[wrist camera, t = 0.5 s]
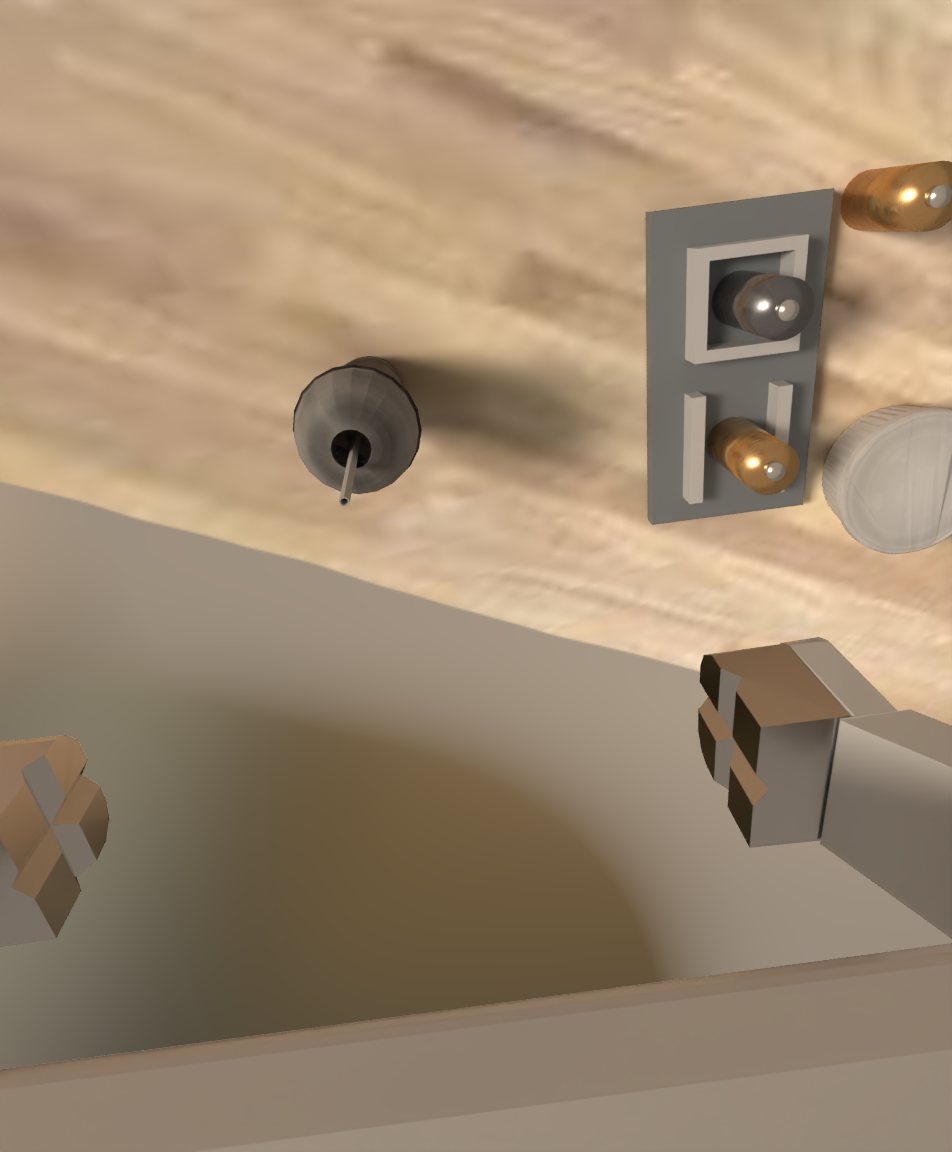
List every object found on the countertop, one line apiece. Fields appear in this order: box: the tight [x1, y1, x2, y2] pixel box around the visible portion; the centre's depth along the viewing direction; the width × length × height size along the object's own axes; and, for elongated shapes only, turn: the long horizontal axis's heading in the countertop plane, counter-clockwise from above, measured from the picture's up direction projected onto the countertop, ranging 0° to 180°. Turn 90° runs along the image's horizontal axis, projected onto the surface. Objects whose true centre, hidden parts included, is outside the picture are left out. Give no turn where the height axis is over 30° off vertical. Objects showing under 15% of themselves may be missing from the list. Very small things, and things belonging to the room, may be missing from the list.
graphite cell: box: [712, 270, 815, 341], centre depth 45 cm, size 4×4×8 cm
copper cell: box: [840, 161, 952, 231], centre depth 44 cm, size 4×4×8 cm
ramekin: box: [822, 405, 952, 554], centre depth 54 cm, size 11×11×5 cm
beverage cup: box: [293, 356, 421, 507], centre depth 42 cm, size 7×7×20 cm
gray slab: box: [646, 188, 834, 525], centre depth 50 cm, size 22×12×3 cm, turn 7°
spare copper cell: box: [707, 417, 799, 495], centre depth 49 cm, size 4×4×8 cm
